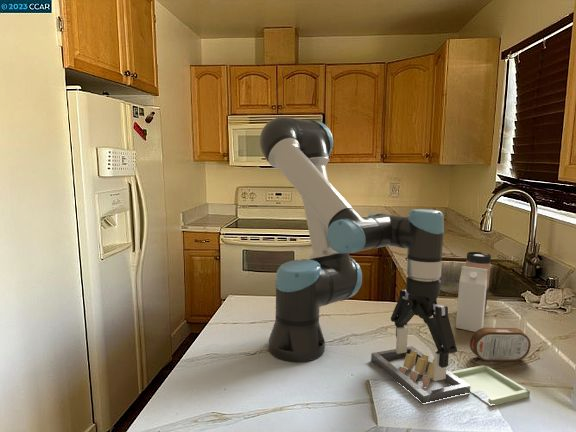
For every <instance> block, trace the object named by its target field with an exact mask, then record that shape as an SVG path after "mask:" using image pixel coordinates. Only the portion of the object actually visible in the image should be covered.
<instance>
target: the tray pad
mask: <svg viewBox="0 0 576 432" xmlns="http://www.w3.org/2000/svg"><path fill="white" fill-rule="evenodd" d="M450 372H451V373H453V374H454V375H456V376H457V377H458V378H460V379H461V380H463V381H464V382H466V383H467V384H469V385H470V390H471V391H474V392H475V390H476V391H478V390H482V391H484V393H486V394H487V395H488V396H489V397H490V398H489V399H488V402H489V403H490V404H495V406H499V405H502V404H507V403H511V402H514V401H518V400H523V399H527V398H530V395H531V390H530V389H528V388H526V387H524V386H522V385H521V384H519V383H517V382H516V381H514V380H512V379H511V378H509V377H507V376H505V375H504V374H501V373H500V372H499V371H497V370H495V369H493V368H491V367H490V366H488V365H487V364H482V365H477V366H473V367H468V368H463V369H458V370H453V371H450Z"/></svg>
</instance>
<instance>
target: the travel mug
mask: <svg viewBox="0 0 576 432" xmlns="http://www.w3.org/2000/svg"><path fill="white" fill-rule="evenodd" d="M491 259H492V255H491V254H489V253H488V254H484V253H483V252H481V251H469V252H467V254H466V261H465V263H466V264H465V266H466V267H473V268H481V269H487V289H486V300H485V311H484V314H486V310H487V302H488V296H489V287H490V276H491V275H490V273H491V261H492V260H491Z"/></svg>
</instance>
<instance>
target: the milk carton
mask: <svg viewBox="0 0 576 432" xmlns="http://www.w3.org/2000/svg"><path fill="white" fill-rule="evenodd" d="M458 282H459V285H458V295H457V296H458V297H457V306H456V307H457V309H456V319H455V328H456V329H461V330H465V331H470V332H473V333H475V332H476V331H477V330H479V329H481V328H484V327H483V326H484V322H485V321H484V319H485V313H484V311H485V300H486V289H487V269H481V268H473V267H466V265H462V266H461V273H460V276H459V281H458Z"/></svg>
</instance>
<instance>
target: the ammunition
mask: <svg viewBox="0 0 576 432" xmlns="http://www.w3.org/2000/svg"><path fill="white" fill-rule="evenodd" d="M406 354H407V353H406ZM416 356H417V352H416V351H413V350H411V352H410V354H407V355H406V357H404V363H403V367H402V366H399V368H398V370H399V371H401V372H402V373H403V374H404V375H406V370H407V371H408V372H410V375H409V379H411V380H412V381H413V382H415V383H416V381H417V378H418V374H419V375H420V376H422V380H421V383H422V388H423V387H426V388H427V387H428V386H429V384H430V381H431V380H433V381H435V380H434V379H433V376H434V359H432V360H433V362H430V364H429V367H428V369H427V368H426V367H427V363H428V359H429V358H430V356H429V355H427V354H425V353H423V354H422V356H421V358H419V357H418V359H417V361H416ZM428 357H429V358H428ZM415 363H416V364H415ZM414 366H415V367H414ZM413 369H414V371H412V370H413ZM426 370H427V373H426ZM425 373H426V375H424V374H425Z"/></svg>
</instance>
